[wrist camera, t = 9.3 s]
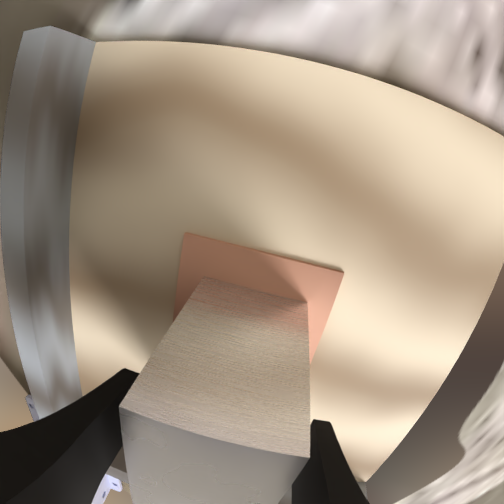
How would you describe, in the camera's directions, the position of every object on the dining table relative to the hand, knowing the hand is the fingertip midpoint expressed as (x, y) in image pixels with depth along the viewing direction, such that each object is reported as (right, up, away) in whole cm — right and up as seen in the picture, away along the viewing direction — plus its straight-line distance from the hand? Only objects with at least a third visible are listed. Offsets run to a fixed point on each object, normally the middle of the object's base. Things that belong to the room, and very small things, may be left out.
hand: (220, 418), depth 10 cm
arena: (+1, +2, +4) cm, 5 cm away
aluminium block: (0, +1, +3) cm, 3 cm away
